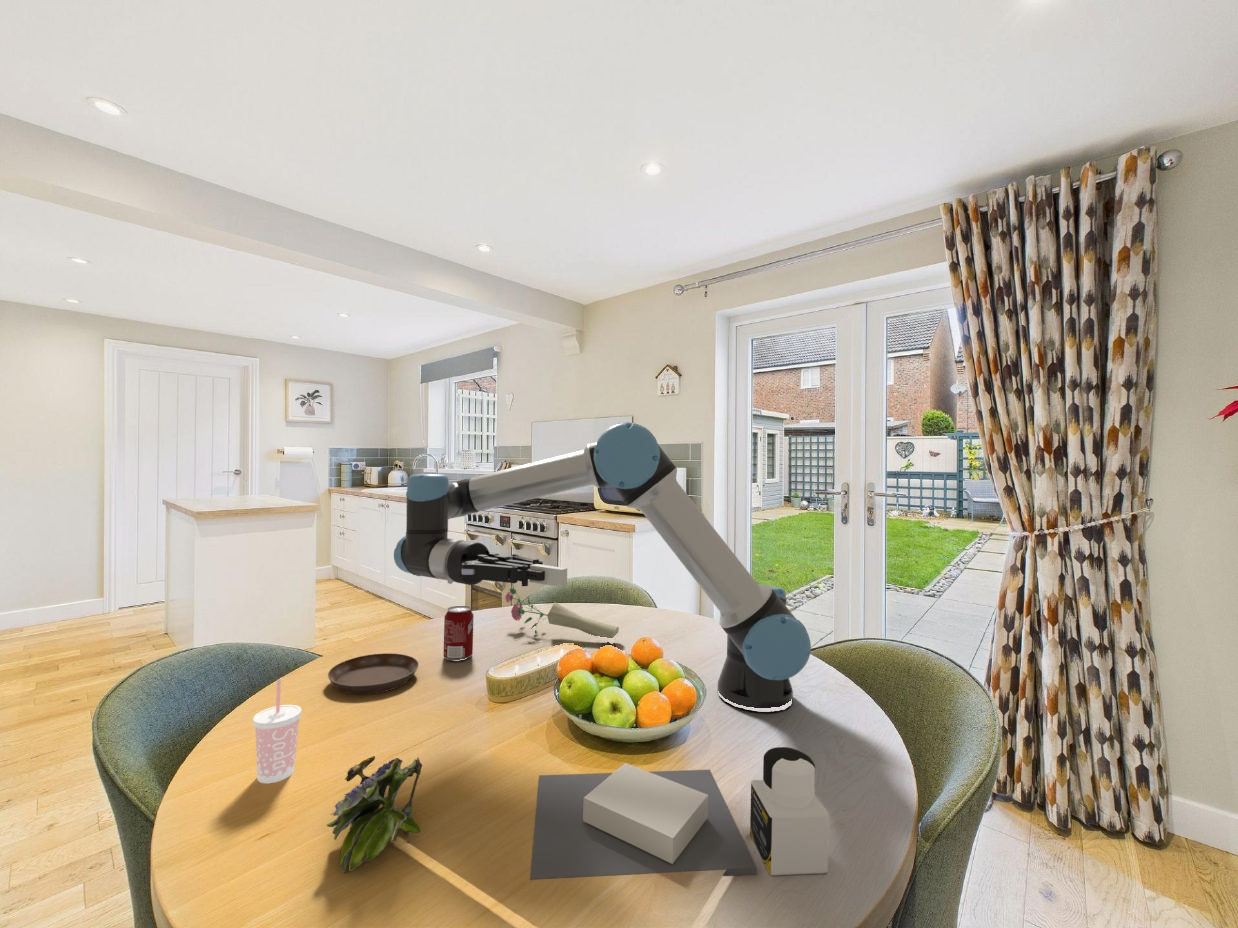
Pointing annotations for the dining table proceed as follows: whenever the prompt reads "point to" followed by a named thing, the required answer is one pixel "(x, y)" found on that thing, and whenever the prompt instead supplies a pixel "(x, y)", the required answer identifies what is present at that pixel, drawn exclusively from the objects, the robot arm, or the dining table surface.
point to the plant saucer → (373, 673)
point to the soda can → (458, 633)
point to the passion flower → (373, 811)
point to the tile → (646, 811)
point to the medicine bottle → (789, 815)
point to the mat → (593, 852)
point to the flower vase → (564, 618)
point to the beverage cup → (276, 740)
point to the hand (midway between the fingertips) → (564, 577)
